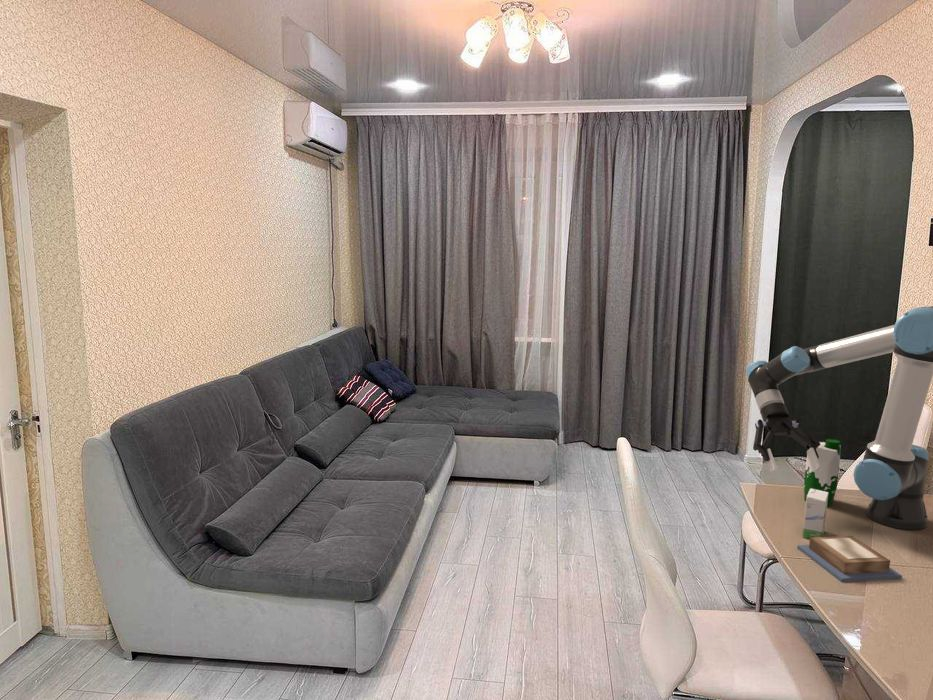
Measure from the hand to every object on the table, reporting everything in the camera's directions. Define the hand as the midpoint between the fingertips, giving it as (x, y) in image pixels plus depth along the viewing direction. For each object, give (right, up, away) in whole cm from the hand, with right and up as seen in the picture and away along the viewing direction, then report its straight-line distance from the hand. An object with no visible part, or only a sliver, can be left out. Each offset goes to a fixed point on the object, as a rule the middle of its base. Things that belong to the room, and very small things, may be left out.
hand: (796, 470), depth 201 cm
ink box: (+1, -17, -8) cm, 18 cm away
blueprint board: (+1, -19, -25) cm, 31 cm away
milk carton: (+15, -13, +17) cm, 26 cm away
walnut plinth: (+1, -19, -25) cm, 31 cm away
